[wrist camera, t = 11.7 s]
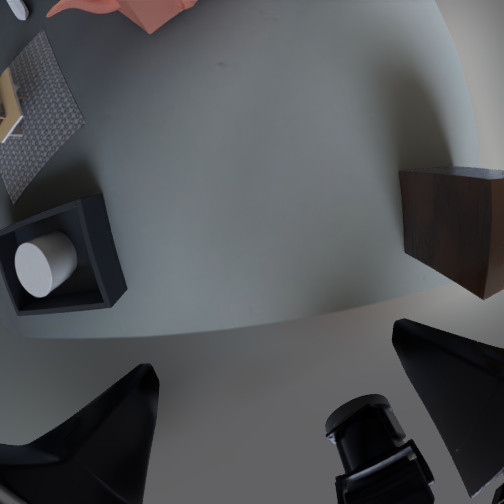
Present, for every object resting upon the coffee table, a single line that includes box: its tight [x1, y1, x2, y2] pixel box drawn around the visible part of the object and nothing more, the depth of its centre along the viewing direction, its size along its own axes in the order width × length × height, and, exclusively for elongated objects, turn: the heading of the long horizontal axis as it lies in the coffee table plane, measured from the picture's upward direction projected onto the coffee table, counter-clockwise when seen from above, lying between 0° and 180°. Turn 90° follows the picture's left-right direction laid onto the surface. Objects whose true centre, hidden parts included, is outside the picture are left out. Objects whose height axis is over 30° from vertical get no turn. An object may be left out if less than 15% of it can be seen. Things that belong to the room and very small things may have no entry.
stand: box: [399, 166, 504, 300], centre depth 15 cm, size 7×7×10 cm
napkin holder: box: [0, 67, 25, 144], centre depth 12 cm, size 3×7×7 cm, turn 31°
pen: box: [7, 0, 29, 20], centre depth 9 cm, size 2×14×2 cm, turn 39°
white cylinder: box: [15, 231, 77, 297], centre depth 17 cm, size 4×4×4 cm
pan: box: [0, 194, 127, 316], centre depth 18 cm, size 12×8×3 cm, turn 99°
